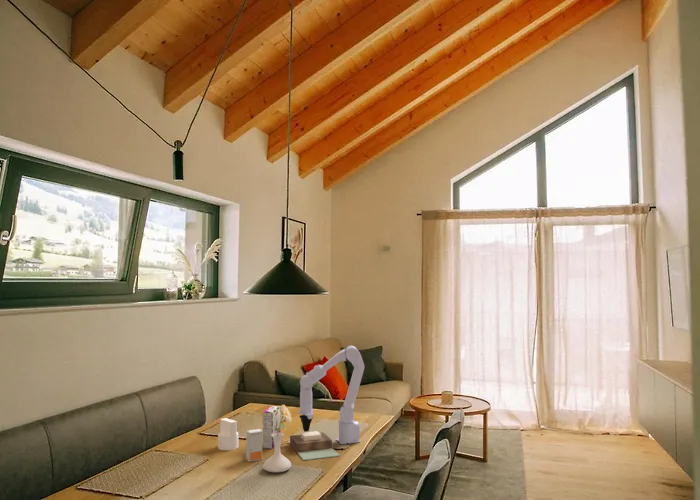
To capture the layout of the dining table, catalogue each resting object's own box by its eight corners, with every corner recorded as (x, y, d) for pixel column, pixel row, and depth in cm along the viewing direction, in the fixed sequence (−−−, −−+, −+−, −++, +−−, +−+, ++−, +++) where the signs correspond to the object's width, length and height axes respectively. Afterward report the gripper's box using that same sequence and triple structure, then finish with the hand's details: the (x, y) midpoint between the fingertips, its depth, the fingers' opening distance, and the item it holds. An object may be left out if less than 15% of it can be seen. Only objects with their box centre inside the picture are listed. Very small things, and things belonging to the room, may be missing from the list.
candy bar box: (270, 441, 248) (270, 405, 249) (280, 441, 247) (281, 406, 248) (262, 448, 237) (262, 411, 238) (272, 449, 236) (272, 411, 237)
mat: (332, 449, 236) (332, 448, 236) (339, 456, 227) (339, 455, 227) (297, 453, 230) (297, 452, 231) (303, 460, 221) (303, 459, 221)
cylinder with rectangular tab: (242, 447, 240) (242, 420, 240) (225, 451, 233) (225, 424, 234) (230, 442, 246) (231, 416, 247) (214, 447, 239) (214, 420, 240)
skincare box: (248, 462, 219) (249, 432, 220) (245, 459, 223) (246, 430, 224) (262, 460, 222) (263, 431, 223) (259, 457, 226) (259, 428, 227)
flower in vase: (279, 477, 203) (279, 410, 204) (256, 471, 209) (257, 407, 210) (299, 467, 214) (300, 404, 215) (278, 462, 220) (278, 400, 221)
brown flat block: (323, 440, 248) (323, 432, 249) (332, 449, 236) (332, 440, 237) (289, 444, 243) (290, 435, 243) (297, 453, 231) (297, 443, 231)
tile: (317, 435, 244) (317, 431, 244) (321, 439, 238) (321, 434, 238) (300, 437, 241) (300, 432, 241) (304, 441, 235) (304, 436, 235)
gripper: (294, 399, 253) (293, 427, 252) (302, 405, 240) (301, 436, 239) (308, 397, 256) (308, 426, 255) (316, 404, 242) (316, 434, 241)
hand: (306, 431), depth 247 cm, fingers closed
